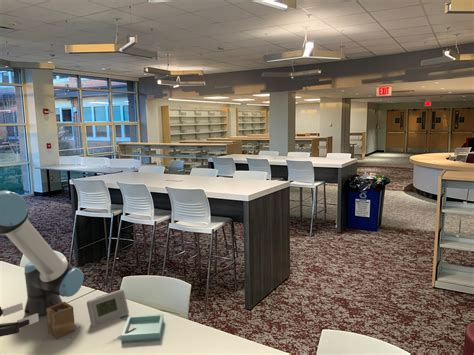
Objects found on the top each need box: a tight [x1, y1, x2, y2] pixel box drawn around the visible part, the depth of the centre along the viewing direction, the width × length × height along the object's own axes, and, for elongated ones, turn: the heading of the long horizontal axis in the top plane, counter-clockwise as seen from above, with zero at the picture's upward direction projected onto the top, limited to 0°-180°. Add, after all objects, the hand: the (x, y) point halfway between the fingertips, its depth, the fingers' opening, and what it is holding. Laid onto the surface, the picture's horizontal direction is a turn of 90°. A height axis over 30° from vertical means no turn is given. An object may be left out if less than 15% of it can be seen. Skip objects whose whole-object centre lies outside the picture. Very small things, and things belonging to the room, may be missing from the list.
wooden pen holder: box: [46, 301, 76, 339], centre depth 145 cm, size 7×7×10 cm
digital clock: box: [86, 288, 130, 327], centre depth 157 cm, size 16×9×11 cm, turn 122°
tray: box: [120, 313, 165, 344], centre depth 147 cm, size 14×14×3 cm
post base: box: [41, 309, 82, 342], centre depth 145 cm, size 11×11×10 cm
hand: (30, 311), depth 136 cm, fingers open, 13 cm apart
